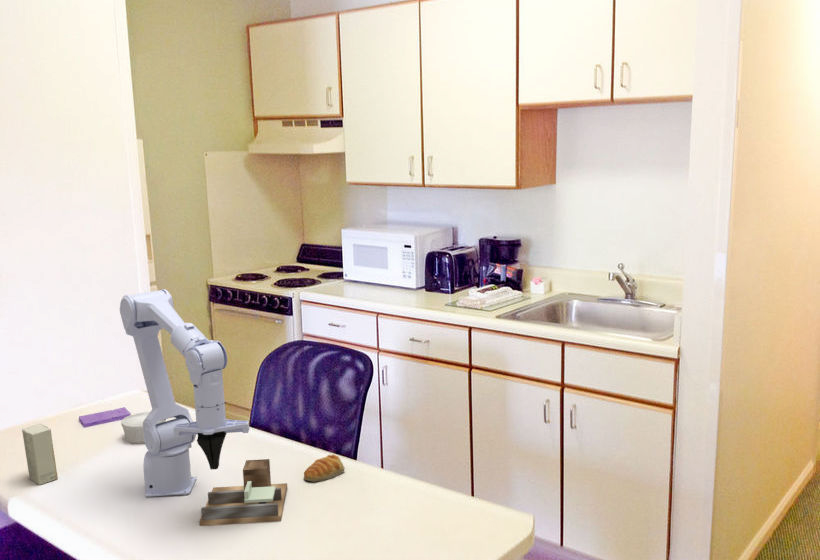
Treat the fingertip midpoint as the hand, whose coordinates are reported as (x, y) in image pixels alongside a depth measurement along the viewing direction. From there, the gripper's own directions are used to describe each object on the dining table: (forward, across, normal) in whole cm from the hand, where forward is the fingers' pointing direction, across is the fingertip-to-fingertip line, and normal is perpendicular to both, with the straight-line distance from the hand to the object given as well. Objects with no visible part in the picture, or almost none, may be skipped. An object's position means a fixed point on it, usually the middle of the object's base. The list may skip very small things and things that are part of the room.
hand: (214, 467), depth 151 cm
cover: (+7, +9, 0) cm, 11 cm away
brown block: (+9, +7, +8) cm, 14 cm away
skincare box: (+11, -44, +23) cm, 51 cm away
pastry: (+11, +21, +17) cm, 29 cm away
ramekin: (+11, -27, +46) cm, 54 cm away
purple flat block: (+11, -42, +61) cm, 75 cm away
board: (+10, +5, +4) cm, 12 cm away
